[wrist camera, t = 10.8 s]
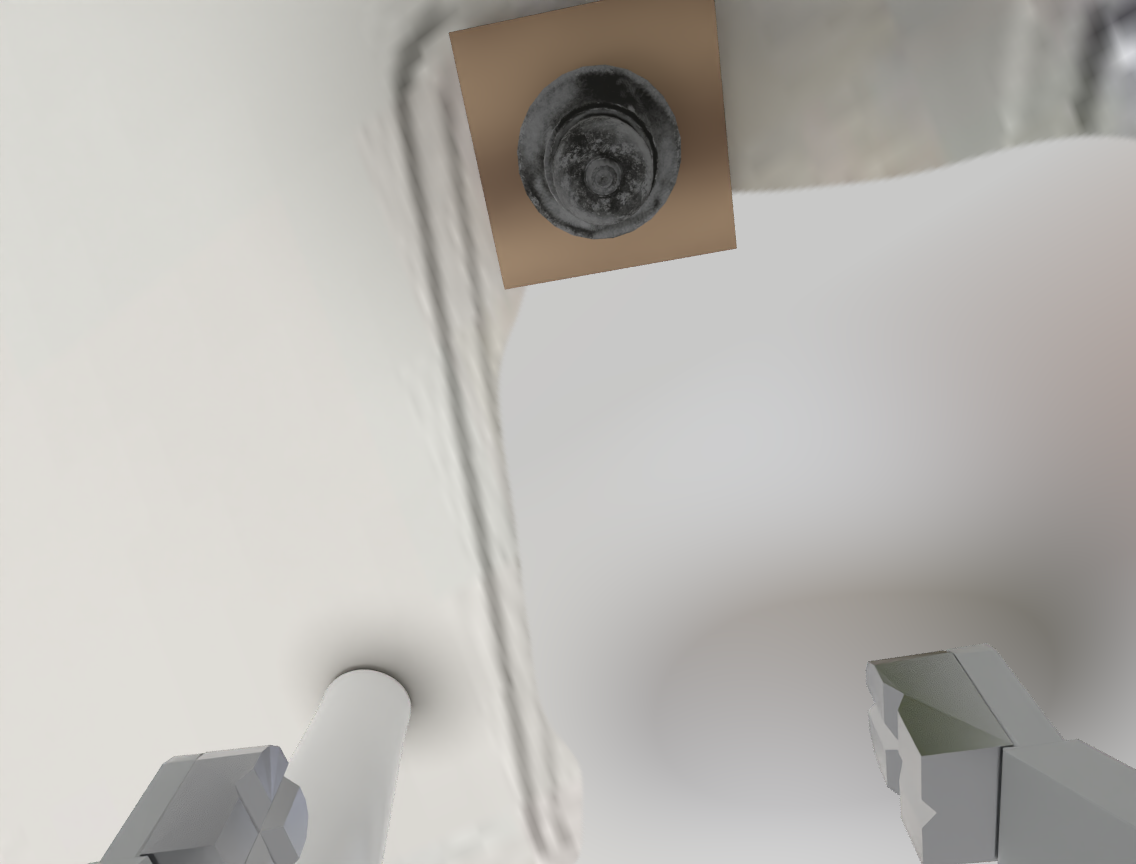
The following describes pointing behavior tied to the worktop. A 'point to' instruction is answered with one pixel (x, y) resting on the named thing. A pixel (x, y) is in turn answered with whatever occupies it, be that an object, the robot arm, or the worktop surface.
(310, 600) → the worktop surface
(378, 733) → the drinking glass
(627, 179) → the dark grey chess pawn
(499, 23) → the base block
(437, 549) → the worktop surface
